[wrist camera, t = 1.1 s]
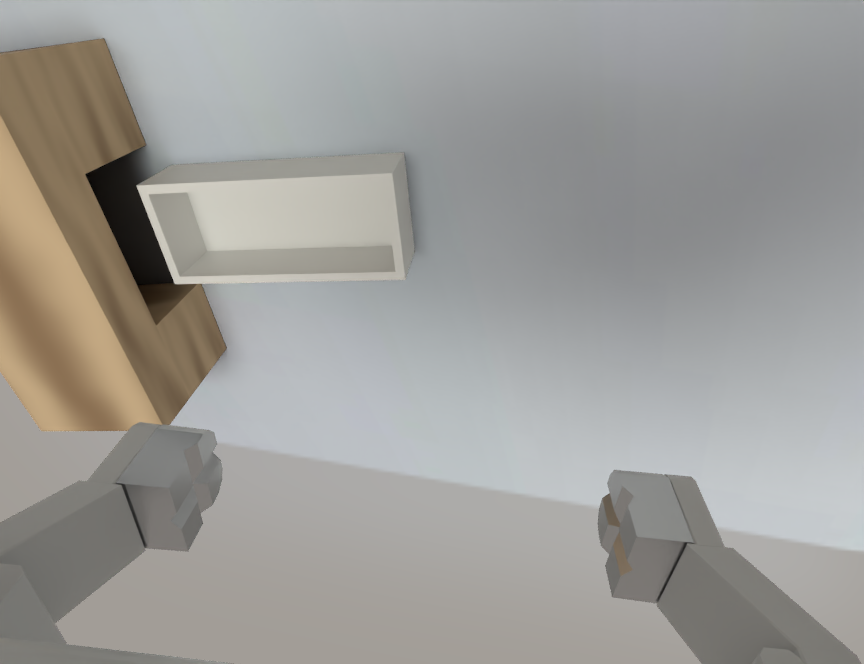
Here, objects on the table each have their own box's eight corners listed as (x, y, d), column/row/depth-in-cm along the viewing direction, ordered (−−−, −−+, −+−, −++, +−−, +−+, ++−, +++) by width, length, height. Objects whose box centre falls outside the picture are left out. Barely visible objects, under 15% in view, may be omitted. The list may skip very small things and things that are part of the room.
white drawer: (404, 150, 30) (392, 173, 27) (415, 249, 33) (405, 279, 30) (174, 163, 32) (136, 185, 29) (206, 254, 35) (174, 284, 32)
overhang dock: (103, 38, 28) (-29, 60, 21) (226, 348, 39) (165, 430, 32) (-33, 57, 30) (-200, 83, 23) (121, 351, 41) (41, 431, 34)
